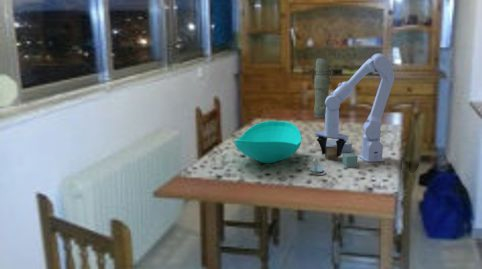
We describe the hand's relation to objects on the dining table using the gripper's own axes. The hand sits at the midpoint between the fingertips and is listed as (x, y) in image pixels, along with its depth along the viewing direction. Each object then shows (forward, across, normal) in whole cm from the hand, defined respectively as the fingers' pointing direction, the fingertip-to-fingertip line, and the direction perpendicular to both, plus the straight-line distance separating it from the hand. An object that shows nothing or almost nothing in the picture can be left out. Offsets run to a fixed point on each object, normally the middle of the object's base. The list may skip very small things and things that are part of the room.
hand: (331, 154), depth 225 cm
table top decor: (+2, +21, +18) cm, 27 cm away
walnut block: (+1, 0, 0) cm, 1 cm away
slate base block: (+2, +3, -14) cm, 14 cm away
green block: (+2, -11, +6) cm, 13 cm away
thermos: (+2, +44, -76) cm, 88 cm away
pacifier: (+2, -5, +22) cm, 22 cm away
